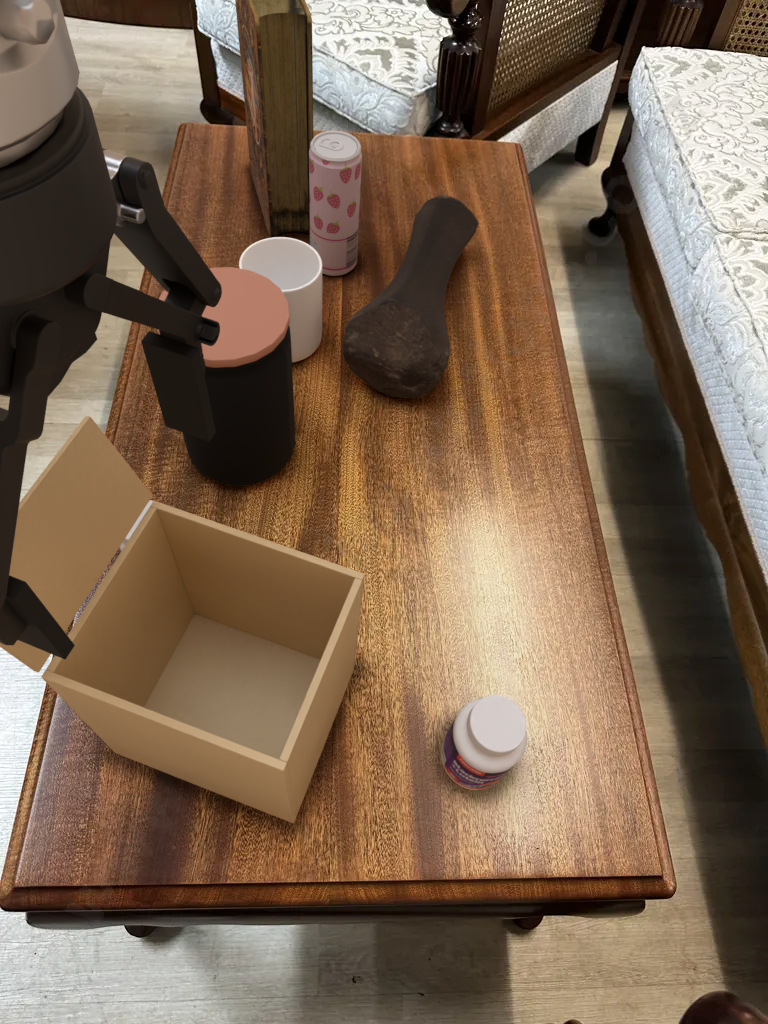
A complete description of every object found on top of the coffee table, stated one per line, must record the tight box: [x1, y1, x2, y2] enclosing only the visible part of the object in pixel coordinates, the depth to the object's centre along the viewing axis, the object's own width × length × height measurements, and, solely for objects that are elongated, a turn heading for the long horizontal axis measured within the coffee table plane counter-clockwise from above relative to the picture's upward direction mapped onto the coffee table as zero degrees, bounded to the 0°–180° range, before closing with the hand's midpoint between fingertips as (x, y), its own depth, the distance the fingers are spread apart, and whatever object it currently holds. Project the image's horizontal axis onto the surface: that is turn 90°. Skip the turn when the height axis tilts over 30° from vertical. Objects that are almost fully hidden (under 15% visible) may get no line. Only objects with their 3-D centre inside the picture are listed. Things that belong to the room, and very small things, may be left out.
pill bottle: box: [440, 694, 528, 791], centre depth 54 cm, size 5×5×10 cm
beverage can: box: [309, 130, 363, 277], centre depth 82 cm, size 6×6×15 cm
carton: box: [41, 500, 366, 824], centre depth 51 cm, size 15×13×18 cm
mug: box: [238, 236, 323, 363], centre depth 76 cm, size 12×8×10 cm
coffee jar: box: [156, 266, 297, 487], centre depth 65 cm, size 11×11×18 cm
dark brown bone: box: [342, 195, 480, 399], centre depth 81 cm, size 11×10×28 cm
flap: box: [0, 415, 154, 673], centre depth 41 cm, size 7×13×1 cm
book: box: [234, 0, 314, 238], centre depth 83 cm, size 16×6×25 cm, turn 15°
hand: (124, 525), depth 37 cm, fingers open, 13 cm apart
